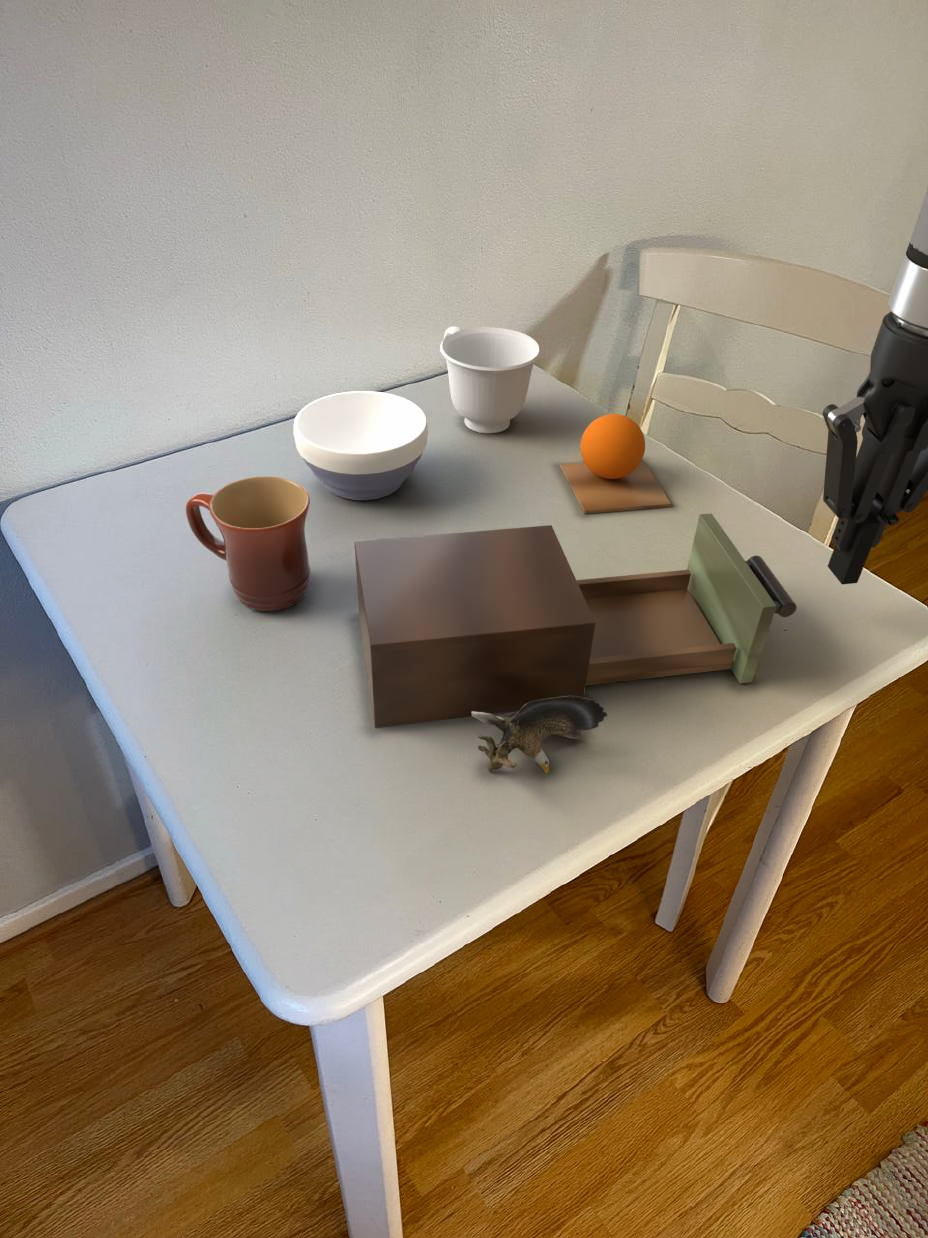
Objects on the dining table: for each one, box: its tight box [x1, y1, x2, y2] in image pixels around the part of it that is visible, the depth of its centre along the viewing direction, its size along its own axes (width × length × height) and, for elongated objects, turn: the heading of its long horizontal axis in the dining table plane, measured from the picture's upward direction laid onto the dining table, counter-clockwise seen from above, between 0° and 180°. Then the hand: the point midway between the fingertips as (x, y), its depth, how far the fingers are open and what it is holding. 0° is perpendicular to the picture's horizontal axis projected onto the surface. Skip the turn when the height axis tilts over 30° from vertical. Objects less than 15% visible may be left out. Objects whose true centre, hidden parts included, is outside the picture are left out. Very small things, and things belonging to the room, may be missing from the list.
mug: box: [185, 475, 311, 612], centre depth 83 cm, size 12×9×10 cm
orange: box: [580, 413, 646, 479], centre depth 101 cm, size 7×7×7 cm
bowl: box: [293, 390, 429, 501], centre depth 99 cm, size 14×14×8 cm
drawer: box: [576, 512, 798, 686], centre depth 79 cm, size 22×14×9 cm, turn 100°
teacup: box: [439, 325, 542, 434], centre depth 111 cm, size 12×15×10 cm
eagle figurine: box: [471, 695, 608, 774], centre depth 70 cm, size 8×7×9 cm
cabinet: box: [353, 524, 595, 728], centre depth 77 cm, size 18×14×9 cm
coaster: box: [559, 459, 672, 515], centre depth 102 cm, size 10×10×1 cm
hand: (842, 574), depth 81 cm, fingers closed
